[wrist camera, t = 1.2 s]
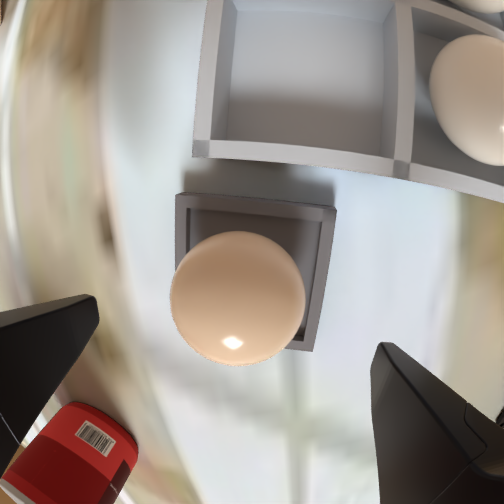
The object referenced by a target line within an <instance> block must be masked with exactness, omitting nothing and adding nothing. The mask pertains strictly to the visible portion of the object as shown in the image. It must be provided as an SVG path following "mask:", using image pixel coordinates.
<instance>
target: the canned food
mask: <svg viewBox="0 0 504 504" xmlns="http://www.w3.org/2000/svg"><path fill="white" fill-rule="evenodd" d="M137 458H138V447H137V445H136V443H135V441H134V440H133V438H132V437H131V436H130V435H129V433H128V432H127V431H126V430H125V429H124V428H123V427H122V426H120V425H119V424H118V423H117V422H116V421H114V420H113V419H112V418H110V417H109V416H107V415H106V414H104V413H103V412H101V411H99V410H97V409H96V408H94V407H91V406H89V405H86V404H83V403H79V402H72V403H69V404H67V405H65V406H63V407H62V408H61V409H60V410H59V411H58V412H57V413H56V414H55V416H54V417H53V418H52V419H51V420H50V421H49V422H48V423H47V425H46V426H45V427H44V428H43V429H42V430H41V431H40V433H39V434H38V435H37V436H36V437H35V438H34V439H33V441H32V442H31V443H30V444H29V445H28V446H27V448H26V449H25V450H24V451H23V452H22V453H21V455H20V456H19V457H18V458H17V459H16V460H15V462H14V463H13V464H12V465H11V466H10V468H9V469H8V470H7V472H6V473H5V474H4V475H3V477H2V478H1V480H0V487H1V488H2V489H3V490H4V491H5V492H6V493H7V494H8V495H9V496H10V497H11V498H12V499H13V500H14V501H15V502H17V503H18V504H114V502H115V500H116V498H117V497H118V495H119V493H120V491H121V489H122V488H123V486H124V484H125V482H126V480H127V478H128V477H129V475H130V473H131V471H132V469H133V468H134V466H135V464H136V462H137Z"/></svg>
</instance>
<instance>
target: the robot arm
mask: <svg viewBox="0 0 504 504" xmlns="http://www.w3.org/2000/svg"><path fill="white" fill-rule="evenodd" d="M98 324H99V312H98V306H97V301H96V298H95V297H94V296H91V295H87V294H82V295H78V296H73V297H68V298H64V299H59V300H55V301H50V302H45V303H41V304H36V305H31V306H27V307H22V308H17V309H13V310H8V311H3V312H0V479H1V477H2V475H3V473H4V471H5V469H6V468H7V466H8V464H9V463H10V461H11V459H12V458H13V456H14V454H15V453H16V451H17V449H18V448H19V446H20V445H19V444H21V442H22V441H23V439H24V437H25V436H26V434H27V433H28V431H29V429H30V428H31V426H32V425H33V423H34V422H35V420H36V419H37V417H38V415H39V414H40V412H41V411H42V409H43V408H44V406H45V405H46V403H47V402H48V400H49V399H50V397H51V396H52V394H53V393H54V392H55V390H56V389H57V387H58V386H59V384H60V383H61V381H62V380H63V379H64V377H65V376H66V374H67V373H68V372H69V370H70V369H71V367H72V366H73V365H74V363H75V362H76V360H77V359H78V357H79V356H80V354H81V353H82V351H83V349H84V348H85V346H86V344H87V343H88V341H89V339H90V338H91V336H92V334H93V333H94V331H95V329H96V328H97V326H98ZM370 376H371V412H372V423H373V430H374V438H375V447H376V457H377V467H378V478H379V491H380V504H504V429H503V428H504V411H503V413H502V414H501V416H500V417H499V418H498V420H497V421H496V423H495V422H493V421H492V420H490V419H489V418H488V417H486V416H485V415H484V414H482V413H481V412H480V411H478V410H477V409H476V408H475V407H473V406H472V405H471V404H470V403H467V401H466V400H465V399H463V398H462V397H461V396H460V395H458V394H457V393H456V392H455V391H453V390H452V389H451V388H450V387H448V386H447V385H446V384H445V383H443V382H442V381H441V380H440V379H438V378H437V377H436V376H435V375H433V374H432V373H431V372H429V371H428V370H427V369H426V368H424V367H423V366H422V365H421V364H419V363H418V362H417V361H416V360H414V359H413V358H412V357H410V356H409V355H408V354H407V353H405V352H404V351H403V350H401V349H400V348H399V347H398V346H396V345H395V344H394V343H391V342H380V343H379V344H378V346H377V349H376V352H375V355H374V358H373V361H372V364H371V370H370Z"/></svg>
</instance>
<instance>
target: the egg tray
mask: <svg viewBox="0 0 504 504" xmlns="http://www.w3.org/2000/svg"><path fill="white" fill-rule="evenodd" d="M474 34H478V35H487V36H491V37H494V38H497V39H500V40H502V41H504V11H502V12H499V13H494V14H483V13H476V12H473V11H469V10H466V9H464V8H461V7H459V6H457V5H455V4H454V3H452V2H450V1H449V0H207V7H206V14H205V22H204V29H203V37H202V45H201V54H200V63H199V73H198V83H197V94H196V106H195V119H194V133H193V150H192V157H203V158H225V159H242V160H256V161H269V162H280V163H290V164H300V165H309V166H318V167H326V168H334V169H341V170H348V171H355V172H362V173H368V174H374V175H380V176H386V177H392V178H397V179H403V180H408V181H413V182H418V183H423V184H428V185H433V186H438V187H442V188H447V189H451V190H455V191H460V192H464V193H468V194H472V195H476V196H480V197H484V198H487V199H491V200H495V201H498V202H502V203H504V166H494V165H489V164H485V163H482V162H480V161H477V160H475V159H473V158H471V157H470V156H468V155H466V154H465V153H464V152H462V151H461V150H460V149H459V148H458V147H456V146H455V145H454V144H453V143H452V142H451V140H450V139H449V138H448V137H447V136H446V134H445V133H444V131H443V130H442V128H441V126H440V125H439V123H438V121H437V119H436V117H435V114H434V111H433V108H432V105H431V101H430V95H429V78H430V72H431V68H432V65H433V63H434V61H435V59H436V57H437V55H438V53H439V52H440V51H441V50H442V49H443V48H444V47H445V46H446V45H447V44H448V43H449V42H451V41H453V40H455V39H457V38H459V37H462V36H466V35H474Z"/></svg>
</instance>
